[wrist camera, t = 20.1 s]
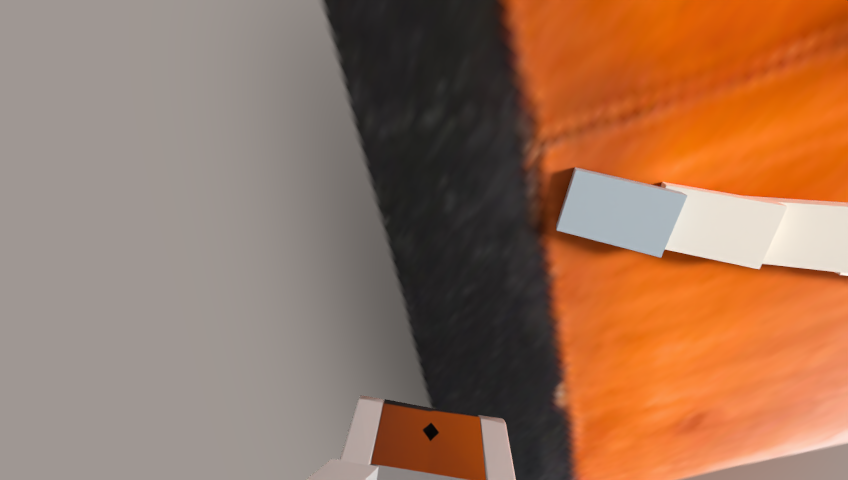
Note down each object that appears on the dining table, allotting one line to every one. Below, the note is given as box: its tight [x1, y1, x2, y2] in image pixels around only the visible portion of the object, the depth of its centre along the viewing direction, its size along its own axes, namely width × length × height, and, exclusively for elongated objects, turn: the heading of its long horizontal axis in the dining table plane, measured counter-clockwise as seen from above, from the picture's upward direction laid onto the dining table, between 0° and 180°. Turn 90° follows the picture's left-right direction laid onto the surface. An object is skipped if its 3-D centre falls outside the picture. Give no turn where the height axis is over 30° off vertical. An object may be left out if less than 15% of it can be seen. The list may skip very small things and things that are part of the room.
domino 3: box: [747, 196, 848, 273], centre depth 32 cm, size 2×5×8 cm
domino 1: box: [556, 167, 688, 258], centre depth 33 cm, size 2×5×8 cm
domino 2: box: [661, 182, 788, 269], centre depth 32 cm, size 2×5×8 cm
